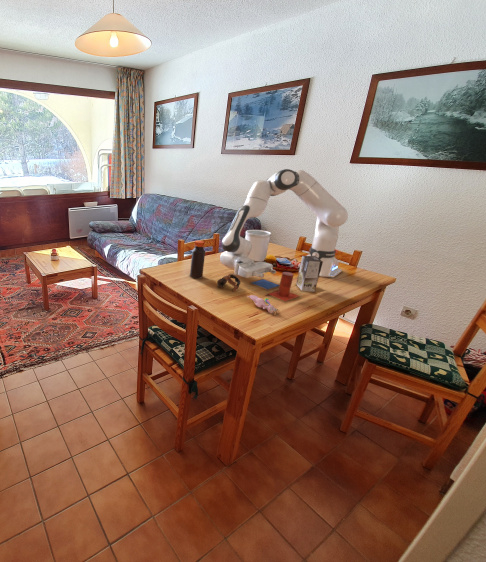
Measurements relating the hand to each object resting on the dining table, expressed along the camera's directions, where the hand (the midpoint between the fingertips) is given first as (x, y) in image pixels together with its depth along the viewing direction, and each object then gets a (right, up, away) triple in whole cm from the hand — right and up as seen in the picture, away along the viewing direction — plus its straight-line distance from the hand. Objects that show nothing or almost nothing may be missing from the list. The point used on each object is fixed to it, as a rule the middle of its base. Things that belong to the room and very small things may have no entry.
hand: (269, 274), depth 154 cm
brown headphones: (-20, -7, +4) cm, 22 cm away
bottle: (-32, -1, +19) cm, 37 cm away
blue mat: (+2, -5, +8) cm, 10 cm away
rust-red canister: (+5, -10, -4) cm, 12 cm away
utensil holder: (+13, +11, +48) cm, 51 cm away
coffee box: (+20, -7, +4) cm, 22 cm away
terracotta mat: (+5, -11, -4) cm, 12 cm away
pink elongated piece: (-11, -16, -16) cm, 25 cm away
